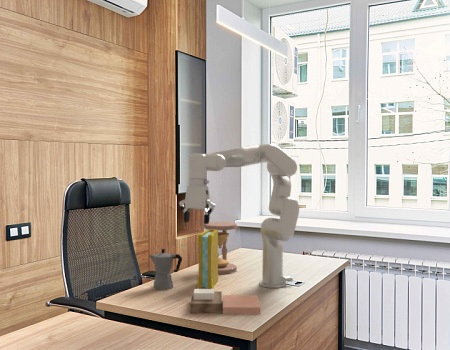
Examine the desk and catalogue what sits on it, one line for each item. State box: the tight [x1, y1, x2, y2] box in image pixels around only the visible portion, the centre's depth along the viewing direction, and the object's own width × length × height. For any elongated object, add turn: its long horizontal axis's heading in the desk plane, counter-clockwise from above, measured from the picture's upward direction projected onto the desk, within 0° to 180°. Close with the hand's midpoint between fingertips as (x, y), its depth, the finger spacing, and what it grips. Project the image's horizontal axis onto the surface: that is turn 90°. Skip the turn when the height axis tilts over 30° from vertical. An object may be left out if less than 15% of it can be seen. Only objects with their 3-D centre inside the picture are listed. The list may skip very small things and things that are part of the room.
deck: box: [189, 290, 223, 315], centre depth 187 cm, size 12×16×4 cm
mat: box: [222, 294, 261, 315], centre depth 187 cm, size 14×16×2 cm
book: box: [197, 229, 219, 289], centre depth 220 cm, size 17×7×25 cm, turn 168°
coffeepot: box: [148, 248, 183, 291], centre depth 215 cm, size 15×9×18 cm, turn 85°
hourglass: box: [203, 221, 238, 275], centre depth 248 cm, size 18×18×25 cm
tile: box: [193, 288, 215, 300], centre depth 187 cm, size 8×6×2 cm
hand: (196, 222), depth 198 cm, fingers open, 9 cm apart
